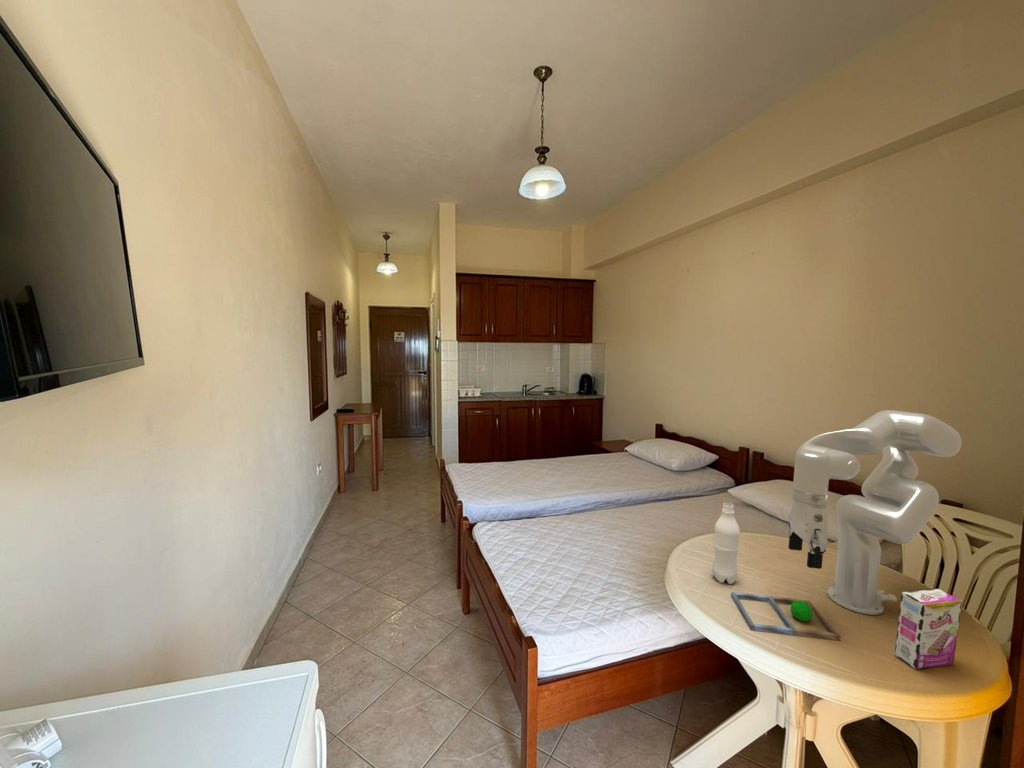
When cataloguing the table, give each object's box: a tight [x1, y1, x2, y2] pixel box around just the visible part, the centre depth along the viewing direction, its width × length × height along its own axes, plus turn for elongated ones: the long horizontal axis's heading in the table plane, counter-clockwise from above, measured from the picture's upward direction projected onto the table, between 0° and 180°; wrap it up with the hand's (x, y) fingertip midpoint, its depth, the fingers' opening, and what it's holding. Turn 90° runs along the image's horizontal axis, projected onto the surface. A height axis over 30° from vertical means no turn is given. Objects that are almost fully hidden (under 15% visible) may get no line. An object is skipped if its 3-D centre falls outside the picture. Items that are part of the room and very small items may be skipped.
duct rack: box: [730, 591, 842, 642], centre depth 112 cm, size 21×15×1 cm
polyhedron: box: [790, 601, 814, 622], centre depth 111 cm, size 5×5×5 cm
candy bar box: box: [894, 588, 963, 670], centre depth 96 cm, size 11×5×16 cm, turn 99°
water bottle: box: [712, 502, 741, 585], centre depth 129 cm, size 7×7×25 cm
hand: (804, 558), depth 110 cm, fingers open, 9 cm apart
